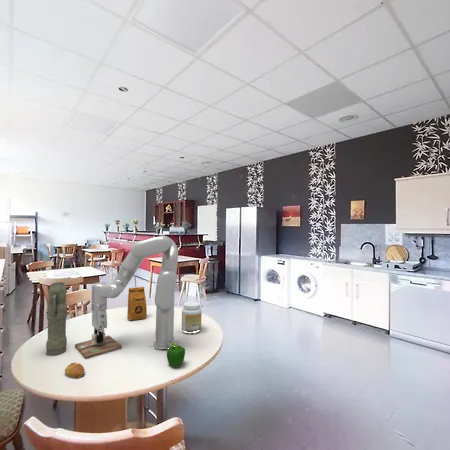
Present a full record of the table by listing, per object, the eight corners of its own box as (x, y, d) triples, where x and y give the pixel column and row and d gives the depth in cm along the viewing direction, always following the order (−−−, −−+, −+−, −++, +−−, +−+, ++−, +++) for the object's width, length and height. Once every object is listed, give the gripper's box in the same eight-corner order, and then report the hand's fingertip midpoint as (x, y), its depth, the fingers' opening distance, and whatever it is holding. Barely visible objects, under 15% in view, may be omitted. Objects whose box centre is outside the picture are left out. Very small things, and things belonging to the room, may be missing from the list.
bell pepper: (188, 365, 131) (188, 344, 131) (173, 371, 126) (173, 349, 126) (178, 358, 137) (178, 338, 137) (163, 364, 132) (164, 343, 132)
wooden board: (122, 348, 147) (122, 345, 147) (85, 359, 135) (85, 355, 135) (109, 338, 161) (109, 335, 161) (74, 346, 148) (74, 343, 148)
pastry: (89, 374, 122) (89, 366, 122) (73, 381, 116) (73, 372, 116) (78, 368, 127) (78, 359, 127) (62, 374, 122) (62, 365, 122)
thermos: (67, 345, 150) (69, 280, 150) (64, 355, 139) (66, 285, 139) (48, 348, 146) (50, 281, 146) (43, 358, 135) (45, 286, 135)
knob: (102, 341, 152) (102, 331, 152) (106, 344, 148) (106, 334, 148) (79, 347, 144) (79, 336, 144) (82, 350, 140) (82, 339, 140)
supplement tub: (205, 331, 174) (205, 304, 174) (190, 336, 165) (190, 307, 165) (192, 326, 182) (193, 300, 182) (177, 331, 173) (178, 303, 173)
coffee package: (147, 319, 193) (148, 287, 193) (128, 322, 187) (129, 289, 187) (144, 315, 202) (145, 285, 202) (126, 317, 196) (127, 286, 196)
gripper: (112, 308, 144) (111, 344, 144) (100, 301, 156) (100, 334, 156) (97, 311, 139) (96, 348, 139) (86, 304, 151) (85, 338, 151)
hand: (98, 340), depth 148 cm, fingers open, 3 cm apart
